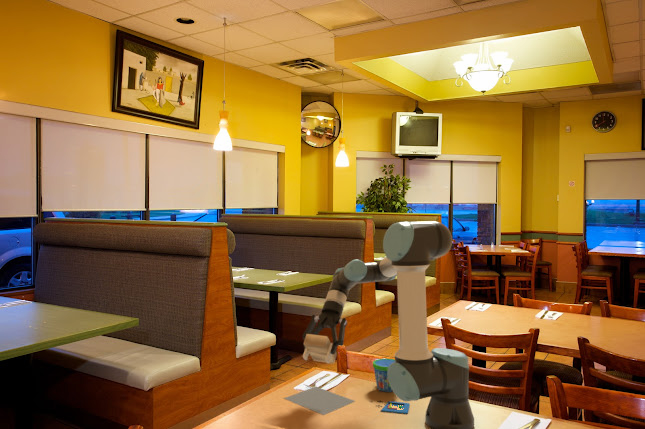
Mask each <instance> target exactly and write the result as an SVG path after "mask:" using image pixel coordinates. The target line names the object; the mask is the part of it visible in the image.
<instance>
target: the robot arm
mask: <svg viewBox="0 0 645 429" xmlns="http://www.w3.org/2000/svg"><path fill="white" fill-rule="evenodd" d="M382 242H383V244H382V247H383V253H384V254H385V255H384V256H385V257H384V258H382V259H380V260H379V261H371V262H364V261H363V260H361V259H353V260H351V261H350V262H348V263H347V264H346V265H345V266H344V267H341V268H337V269H336V270H335V272H334V274H333V276H332V281H331V283H330V285H329V289H328V291H327V295H326V297H325V300H324V302H323V305H322V309H321V313H319V315H315V314H312V315H311V319H310V321H309V323H308V324H307V327H306V329H305V330H304V332H303V334H302V336H301V337H302V340H303V341H304V340H305V337H306V335H307V334H313V335H319V334H320V332H321V331H323V330H324V329H326V328H328V329H330V331H331V337H332V342H331V343H330V346H329V349H328V352H327V355H326V358H325V360H326V362H327V364H329V365H330V364H331V363H330V360H331V357H332V354H335V352H336V353H337V349H338V347H339V346H340V347H342V346H344V342H345V341H344V340H345V333H346V326H347V325H348V321H347V319H346V317H345V318H341V317H342V314H343V311H344V307H345V305H346V302H347V298H348V296H349V292H350V290H351V289H352V288H354V287H355V286H356V285H357V284H366V283H367V284H368V283H377V282H389V281H393V280H395V279H396V282H397V284H396V286H397V312H398V313H397V314H398V317H397V318H398V337H399V341H398V343H399V348H398V350H396V352H394V360H395V362H393V363H392V364H390V365H389V367H388V372H387V375H388V381H389V384H390V386H391V389H392V390H393V391H392V392H393V394H394V395H395V396H396V397H397V398H398V399H399V400H400V401H403V402H412V401H415V402H417V401H418V400H421V399H427V398H430V400H429V402H428V405H427V408H426V410H425V421H424V422H425V423H426V425H427V426H428V427H429V428H431V429H473V428H475V417H474V414H473V410H472V407H471V405H470V401H469V380H470V378H469V377H470V376H469V374H470V366H469V357H468V356H467V355H466V354H465V353H464V352H461V351H459V350H455V349H449V348H443V347H435V348H432V349H431V351H430V350H429V344H428V318H427V315H428V313H427V293H426V292H427V289H426V288H427V286H426V284H427V283H426V270H427V269H428V268H429V267H430V266H431V261H435V260H437V259H439V258H442V257H444V256H446V255H447V254H448V253H449V252H450V250H451V248H452V246H453V236H452V232H451V231H450V229H449V228H448V227H447V226H446V225H445V224H443V223H442V222H439V221H436V220H427V221H425V220H423V221H422V220H421V221H407V220H406V221H400V222H395V223H392V224H391V225H390V226H389V227H388V229H387V230H386V231H385V234H384V236H383V241H382ZM337 325H339V330H338V335H337ZM303 349H304V352H303V354H302V358H303V359H304V361H308V359H309V356H310V354H309V352H308V351H307V349H306V347H305V346H304V345H303ZM326 362H325V363H326Z"/></svg>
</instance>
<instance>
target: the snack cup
mask: <svg viewBox="0 0 645 429" xmlns="http://www.w3.org/2000/svg"><path fill="white" fill-rule="evenodd" d="M393 362H395V358H379V359H375V360H374V361H372V367H373V370H374V376H375V383H376V388H377V389H378V390H379V391H380V392H384V393H391V392H393V390H392V389H391V386H390V384H389V381H388V375H387V372H388V367H389V365H390V364H392V363H393Z"/></svg>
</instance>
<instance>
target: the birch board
mask: <svg viewBox="0 0 645 429" xmlns="http://www.w3.org/2000/svg"><path fill="white" fill-rule="evenodd" d="M329 338H330V337H329V336H327V335H319V334H318V335H313V334H307V335H306V337H305V340H304V339H303V347H304V346H305V347H306V349H307V351H308V352H309V356H310V357H311V358H312V361H314V362H318V363H327V362H326V360H325V358H326V355H327V352H328V349H329V346H330V343H332V342H331V341H330V339H329ZM337 354H338V353H337V351H336V352H335V354H332V357H331V360H330V363H329V364H332V365H333V364H335V361H336V358H337ZM327 364H328V363H327Z"/></svg>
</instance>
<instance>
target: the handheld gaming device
mask: <svg viewBox="0 0 645 429" xmlns="http://www.w3.org/2000/svg"><path fill="white" fill-rule="evenodd" d="M370 403H373V401H372V400H370ZM377 403H383V401H382V400H377ZM383 405H384V406H382V405H380V404H378V405H375V407H377V408H381V410H380V412H383V413H391V412H393V414H401V413H403V414H404V415H408V414H409V411H410V403H409V402H404V401H403V402H402V401H390V400H389V401H387V403H384V404H383ZM391 405H392V406H393V405H394V406H397V407H398V405H399V408H400V409H401V408H402V409H403V408H404V409H403V410H397V408H392V407H391ZM400 405H401V406H400ZM402 405H403V406H402ZM403 414H402V415H403Z"/></svg>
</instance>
